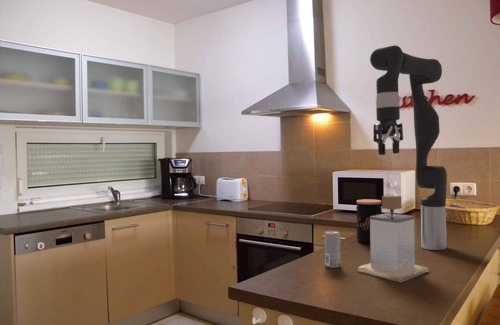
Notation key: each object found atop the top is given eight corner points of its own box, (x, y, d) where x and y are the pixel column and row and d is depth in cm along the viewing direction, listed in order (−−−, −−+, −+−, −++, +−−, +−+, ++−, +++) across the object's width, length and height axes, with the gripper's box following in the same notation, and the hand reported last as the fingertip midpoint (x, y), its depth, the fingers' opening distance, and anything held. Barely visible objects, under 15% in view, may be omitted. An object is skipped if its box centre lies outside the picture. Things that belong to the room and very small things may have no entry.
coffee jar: (352, 242, 183) (351, 201, 183) (364, 237, 191) (363, 198, 191) (375, 245, 176) (374, 202, 175) (386, 240, 184) (385, 200, 183)
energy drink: (338, 263, 150) (337, 230, 150) (342, 267, 145) (341, 233, 145) (323, 264, 150) (323, 230, 150) (326, 268, 145) (326, 233, 144)
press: (385, 262, 150) (384, 211, 150) (428, 271, 138) (427, 216, 137) (357, 271, 140) (357, 216, 140) (401, 282, 128) (400, 222, 127)
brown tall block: (389, 255, 144) (388, 194, 143) (408, 259, 138) (407, 196, 138) (376, 259, 140) (375, 196, 139) (396, 264, 134) (395, 198, 133)
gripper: (389, 107, 150) (390, 153, 151) (365, 107, 141) (367, 155, 142) (409, 105, 144) (410, 152, 145) (385, 105, 135) (387, 155, 136)
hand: (389, 154), depth 143 cm, fingers open, 8 cm apart
